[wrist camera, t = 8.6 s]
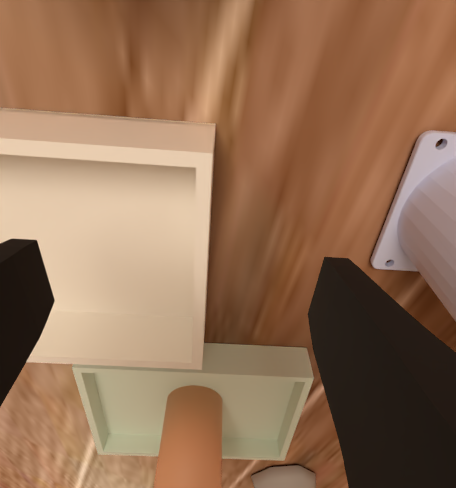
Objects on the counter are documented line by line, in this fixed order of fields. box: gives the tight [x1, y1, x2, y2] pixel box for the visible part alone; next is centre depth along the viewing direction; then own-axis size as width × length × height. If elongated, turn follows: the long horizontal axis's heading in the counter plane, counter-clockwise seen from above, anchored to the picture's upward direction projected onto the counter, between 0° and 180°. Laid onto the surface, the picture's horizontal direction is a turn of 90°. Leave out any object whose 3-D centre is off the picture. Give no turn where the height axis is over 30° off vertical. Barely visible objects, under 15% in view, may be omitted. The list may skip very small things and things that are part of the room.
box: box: [0, 108, 216, 370], centre depth 18 cm, size 13×13×4 cm
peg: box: [154, 385, 222, 488], centre depth 24 cm, size 4×4×7 cm
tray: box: [72, 343, 314, 461], centre depth 27 cm, size 16×12×2 cm
